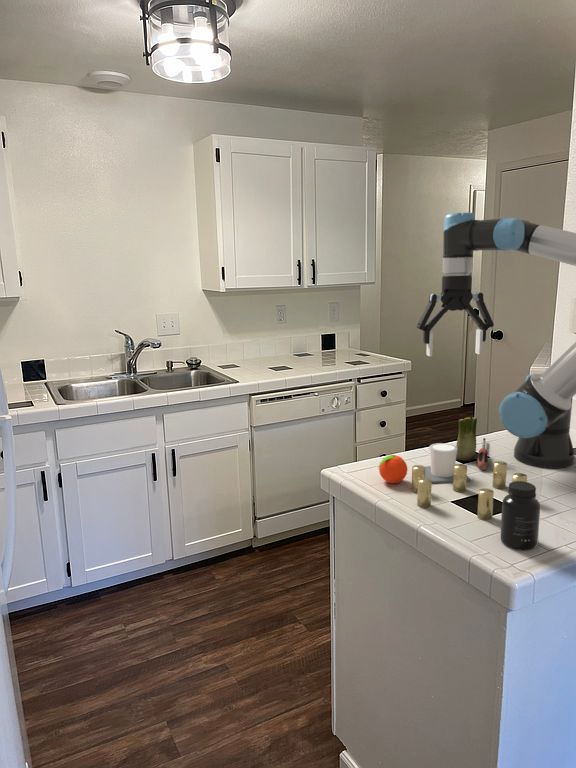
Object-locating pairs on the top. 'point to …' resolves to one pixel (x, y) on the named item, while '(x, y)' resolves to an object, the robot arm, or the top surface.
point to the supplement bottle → (520, 516)
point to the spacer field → (463, 486)
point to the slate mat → (439, 479)
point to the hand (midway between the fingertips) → (454, 354)
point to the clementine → (393, 469)
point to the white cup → (442, 459)
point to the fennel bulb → (466, 439)
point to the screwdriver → (482, 457)
